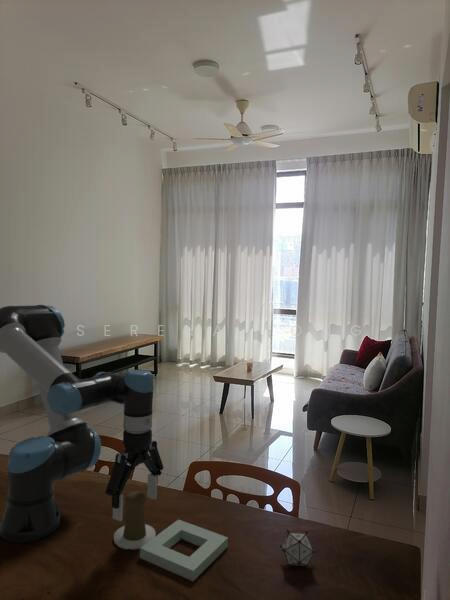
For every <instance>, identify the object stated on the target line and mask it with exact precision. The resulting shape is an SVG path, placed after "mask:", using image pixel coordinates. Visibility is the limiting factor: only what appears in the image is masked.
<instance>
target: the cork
mask: <svg viewBox="0 0 450 600" xmlns="http://www.w3.org/2000/svg"><path fill="white" fill-rule="evenodd" d="M146 501H147V500H146V495H145V493H143V492H141V491H133V492H130V493H128V494H127V496H126V498H125V505H126V507H127V509H126V516H125V522H124V526H125V527H124V533H123V537H124V538H125V539H126V540H129V541H137V540H140V539H142V538H144V537H145V536H146V528H145V524H146V519H145V511H144V506H145V504H146Z"/></svg>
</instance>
